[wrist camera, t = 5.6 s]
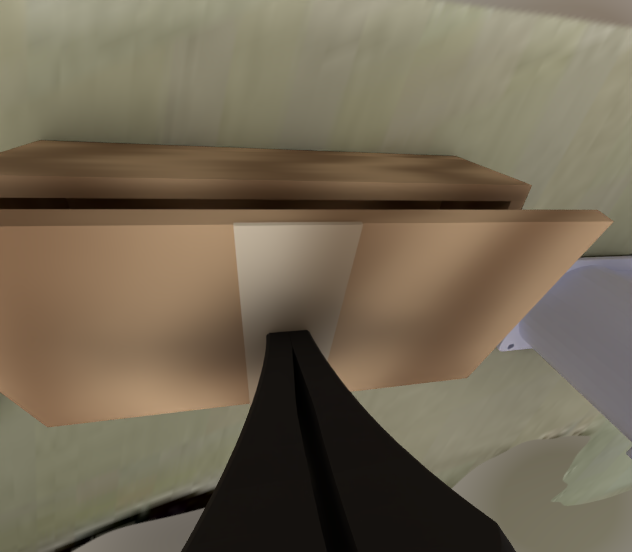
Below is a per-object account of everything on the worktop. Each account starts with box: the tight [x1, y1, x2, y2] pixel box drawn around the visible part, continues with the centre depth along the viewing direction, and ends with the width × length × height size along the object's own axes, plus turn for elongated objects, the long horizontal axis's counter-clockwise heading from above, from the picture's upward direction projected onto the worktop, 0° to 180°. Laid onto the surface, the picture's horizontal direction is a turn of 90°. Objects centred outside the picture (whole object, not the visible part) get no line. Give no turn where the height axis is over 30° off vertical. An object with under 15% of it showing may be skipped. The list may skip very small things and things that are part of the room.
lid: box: [0, 209, 614, 427], centre depth 11 cm, size 18×10×1 cm, turn 86°
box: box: [0, 140, 532, 210], centre depth 14 cm, size 18×9×5 cm, turn 86°
